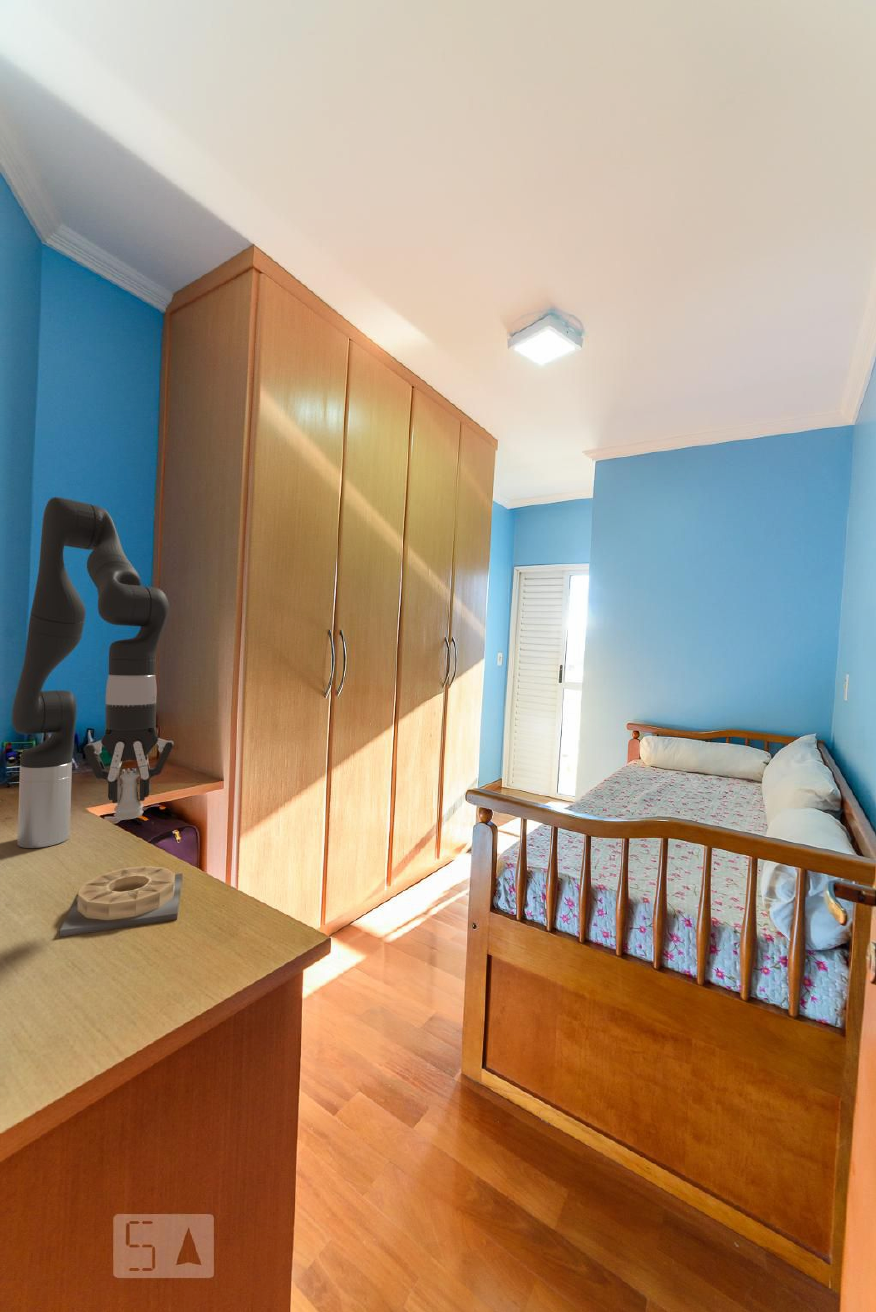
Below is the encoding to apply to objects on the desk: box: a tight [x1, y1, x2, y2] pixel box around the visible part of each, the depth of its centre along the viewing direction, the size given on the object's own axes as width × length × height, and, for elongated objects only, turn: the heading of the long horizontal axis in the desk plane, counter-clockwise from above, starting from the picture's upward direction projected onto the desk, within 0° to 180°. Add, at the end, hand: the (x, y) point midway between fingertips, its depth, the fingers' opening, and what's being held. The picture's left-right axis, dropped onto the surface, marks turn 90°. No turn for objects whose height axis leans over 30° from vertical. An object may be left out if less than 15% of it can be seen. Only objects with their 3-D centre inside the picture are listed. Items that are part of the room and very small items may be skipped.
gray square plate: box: [59, 865, 183, 938], centre depth 90 cm, size 16×16×4 cm
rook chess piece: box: [113, 767, 144, 821], centre depth 90 cm, size 4×4×8 cm
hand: (128, 800), depth 90 cm, fingers closed on rook chess piece, 3 cm apart
